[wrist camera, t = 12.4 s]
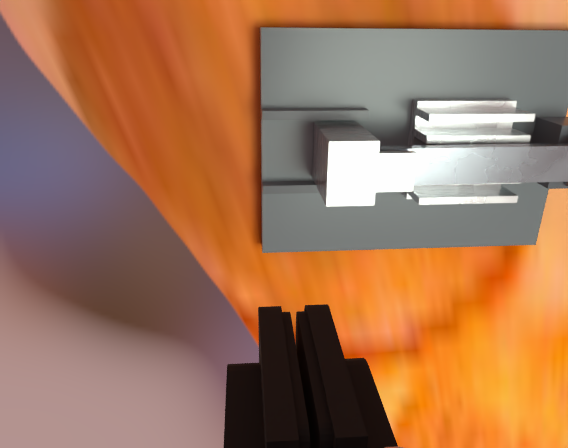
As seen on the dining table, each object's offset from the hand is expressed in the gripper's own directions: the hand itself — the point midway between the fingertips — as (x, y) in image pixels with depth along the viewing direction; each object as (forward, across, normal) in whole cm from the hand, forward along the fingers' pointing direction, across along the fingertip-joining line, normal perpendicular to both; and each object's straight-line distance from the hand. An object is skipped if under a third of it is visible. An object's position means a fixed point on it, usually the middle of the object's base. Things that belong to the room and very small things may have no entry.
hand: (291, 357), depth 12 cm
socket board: (+25, -11, +1) cm, 28 cm away
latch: (+24, -7, +1) cm, 25 cm away
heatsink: (+24, -14, +1) cm, 28 cm away
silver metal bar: (+20, -15, +1) cm, 25 cm away
